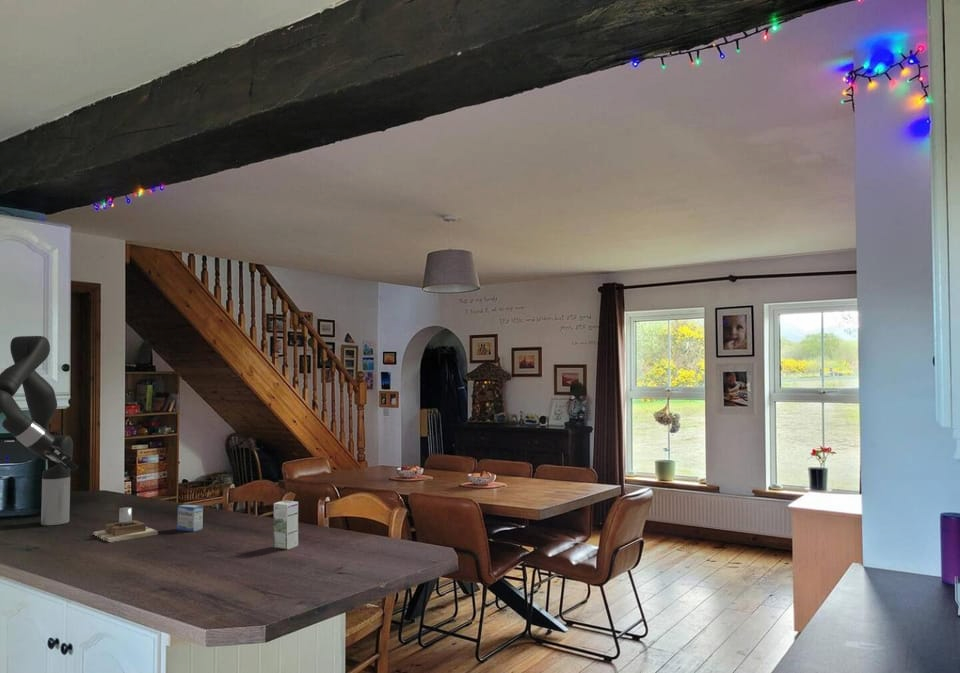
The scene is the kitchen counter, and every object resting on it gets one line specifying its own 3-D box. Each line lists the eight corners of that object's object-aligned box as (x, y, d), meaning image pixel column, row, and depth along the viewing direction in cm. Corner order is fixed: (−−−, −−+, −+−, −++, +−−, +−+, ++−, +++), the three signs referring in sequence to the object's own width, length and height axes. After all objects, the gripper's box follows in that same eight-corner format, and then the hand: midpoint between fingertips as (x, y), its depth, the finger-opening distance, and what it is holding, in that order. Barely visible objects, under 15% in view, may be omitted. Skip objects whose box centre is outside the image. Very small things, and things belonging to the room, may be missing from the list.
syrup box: (298, 545, 226) (299, 501, 227) (286, 550, 220) (286, 504, 221) (285, 544, 228) (285, 499, 229) (272, 548, 223) (273, 502, 224)
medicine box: (176, 530, 250) (177, 506, 251) (186, 527, 255) (186, 503, 255) (193, 531, 247) (193, 507, 248) (203, 529, 252) (203, 505, 252)
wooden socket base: (92, 535, 243) (93, 524, 243) (140, 527, 255) (140, 517, 255) (108, 542, 232) (108, 531, 232) (157, 534, 244) (157, 523, 244)
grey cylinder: (117, 531, 243) (117, 508, 244) (129, 529, 246) (129, 506, 247) (121, 533, 241) (121, 509, 241) (133, 531, 244) (133, 508, 244)
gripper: (50, 430, 227) (88, 461, 235) (37, 427, 237) (74, 457, 245) (31, 448, 223) (70, 479, 231) (19, 444, 233) (57, 474, 241)
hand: (72, 468), depth 238 cm, fingers open, 8 cm apart
